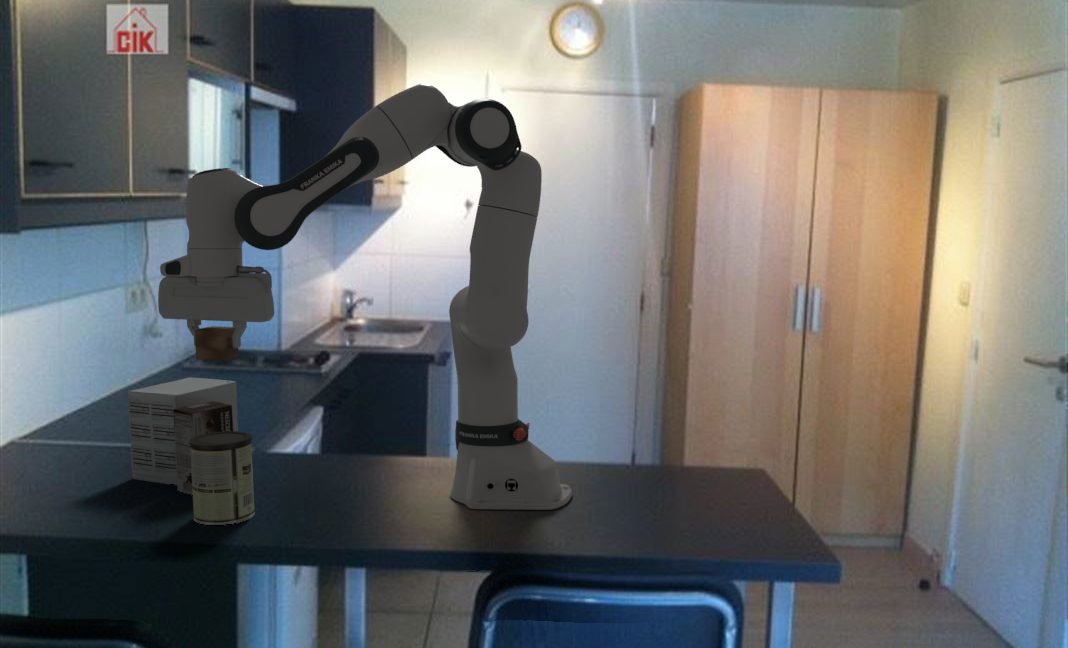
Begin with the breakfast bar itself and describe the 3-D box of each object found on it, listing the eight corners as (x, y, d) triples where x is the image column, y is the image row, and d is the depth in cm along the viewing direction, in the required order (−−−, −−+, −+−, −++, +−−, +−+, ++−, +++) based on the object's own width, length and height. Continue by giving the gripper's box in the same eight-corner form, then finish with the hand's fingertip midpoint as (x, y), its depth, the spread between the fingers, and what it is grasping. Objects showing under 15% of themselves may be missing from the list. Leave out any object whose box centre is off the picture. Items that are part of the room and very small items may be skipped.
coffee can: (198, 510, 172) (194, 432, 170) (258, 506, 173) (255, 429, 172) (187, 528, 162) (183, 445, 160) (251, 524, 163) (248, 442, 162)
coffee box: (216, 481, 191) (212, 400, 189) (237, 486, 187) (233, 404, 185) (175, 491, 183) (171, 408, 181) (196, 497, 180) (192, 411, 178)
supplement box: (193, 459, 208) (189, 376, 206) (241, 465, 202) (238, 380, 200) (129, 479, 192) (124, 389, 190) (179, 486, 187) (175, 394, 185)
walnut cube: (238, 356, 166) (237, 327, 166) (222, 360, 161) (221, 330, 161) (212, 355, 167) (211, 326, 167) (195, 359, 162) (195, 329, 162)
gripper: (280, 265, 163) (282, 347, 165) (173, 263, 168) (176, 342, 170) (261, 267, 157) (263, 351, 159) (151, 265, 162) (154, 346, 164)
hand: (217, 347), depth 164 cm, fingers closed on walnut cube, 5 cm apart
